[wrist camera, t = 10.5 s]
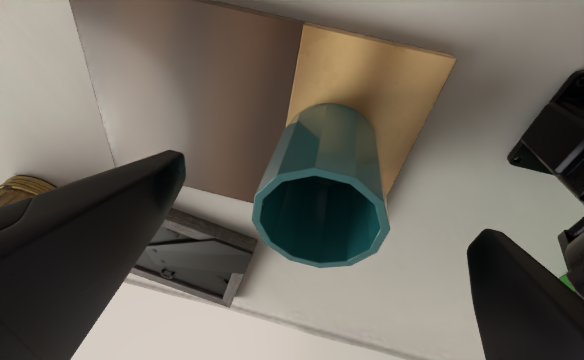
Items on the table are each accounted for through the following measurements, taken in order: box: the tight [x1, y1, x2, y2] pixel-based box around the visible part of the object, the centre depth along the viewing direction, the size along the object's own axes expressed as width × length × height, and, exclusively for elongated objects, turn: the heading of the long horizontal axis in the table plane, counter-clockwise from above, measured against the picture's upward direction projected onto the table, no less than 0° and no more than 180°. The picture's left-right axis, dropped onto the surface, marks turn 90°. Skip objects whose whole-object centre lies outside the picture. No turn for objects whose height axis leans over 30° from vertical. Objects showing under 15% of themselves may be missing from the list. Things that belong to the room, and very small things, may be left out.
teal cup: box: [252, 103, 390, 268], centre depth 17 cm, size 7×7×8 cm
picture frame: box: [130, 208, 257, 308], centre depth 33 cm, size 13×2×18 cm
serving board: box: [69, 0, 456, 203], centre depth 21 cm, size 24×15×1 cm, turn 80°
